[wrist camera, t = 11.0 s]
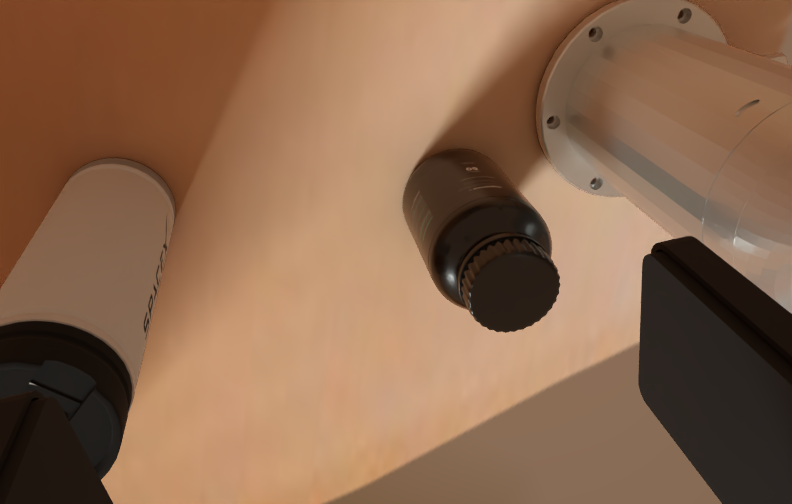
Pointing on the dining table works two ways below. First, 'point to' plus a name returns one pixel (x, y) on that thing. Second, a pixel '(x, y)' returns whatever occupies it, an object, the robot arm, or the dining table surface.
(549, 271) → the supplement bottle
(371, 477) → the dining table surface
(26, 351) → the travel mug
